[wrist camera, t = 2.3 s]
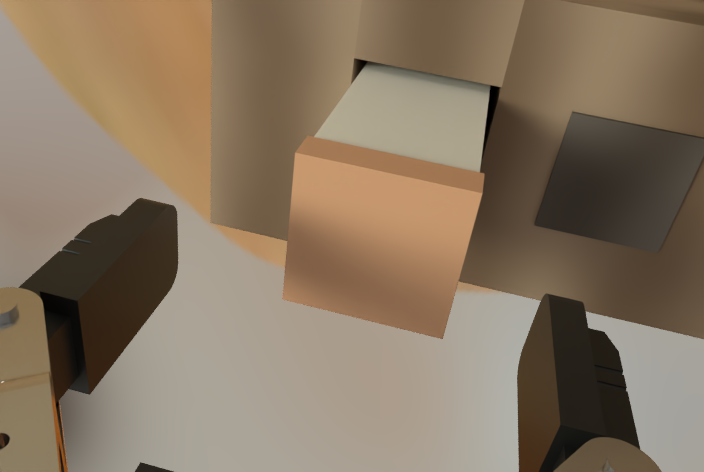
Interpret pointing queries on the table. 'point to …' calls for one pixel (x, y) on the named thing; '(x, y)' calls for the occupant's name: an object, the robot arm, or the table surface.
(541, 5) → the socket block
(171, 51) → the table surface
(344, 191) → the plug
